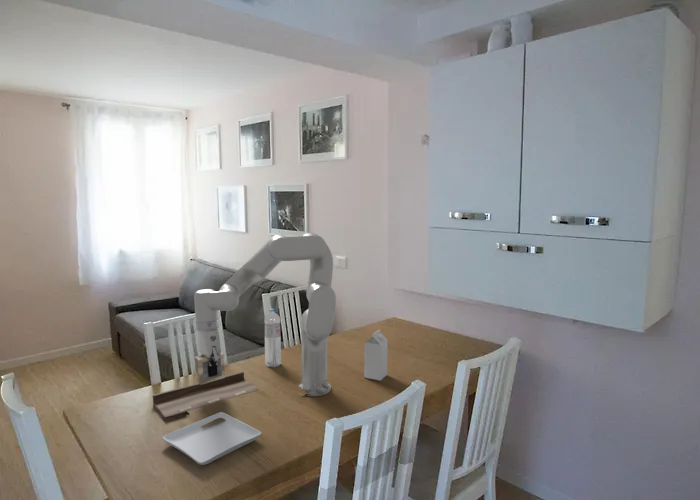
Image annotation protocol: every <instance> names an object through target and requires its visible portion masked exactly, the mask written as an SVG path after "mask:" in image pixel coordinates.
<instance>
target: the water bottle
mask: <svg viewBox="0 0 700 500" xmlns="http://www.w3.org/2000/svg"><path fill="white" fill-rule="evenodd" d="M269 311H270V312H269V313H267V315H266V316H265V317H264V321H263V322H264V365H265V366H266V367H268V368H277V367H280V365H281V364H282V351H281V350H282V349H281V347H282V345H281V343H282V339H281V317H280V316H279V314H278V313H276V312H275V308H269Z"/></svg>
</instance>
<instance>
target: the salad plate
mask: <svg viewBox="0 0 700 500" xmlns="http://www.w3.org/2000/svg"><path fill="white" fill-rule="evenodd" d="M218 419H223V421H220V422H217V423H214V424H210V425H207V424H209V423H211V422H213V421H214V420H218ZM205 425H207V426H205ZM203 426H204V427H203ZM261 435H262V432H261V431H260V430H259V429H256V428H254V427H253V426H252V425H249V424H247V423H245V422H243V421H241V420H239V419H237V418H235V417H233V416H231V415H229V414H227V413H225V412H223V411H220V412H216V413H215V414H212V415H209V416H207V417H205V418H203V419H201V420H198V421H196V422H193V423H191V424H189V425H186V426H183V427H181V428H179V429H177V430H173V431H172V432H169V433H167V434H165V435H163V436H162V437H161V439H162V440H163V441H164V442H165V443H167V445H169V446H171V447H173V448H175V449H177V450H178V451H180V452H182V454H184V455H186V456H187V457H188V458H190V459H191V460H193V461H194V462H195V463H197V464H198V465H200V466H206V465H208V464H210V463H212V462H214V461H216V460H217V459H221V458H222V457H224V456H226V455H228V454H230V453H231V452H234V451H236V450H237V449H240V448H242V447H244V446H246V445H248V444H250V443H252V442H255V441H256V440H257V439H258V438H259V437H260V436H261Z"/></svg>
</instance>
